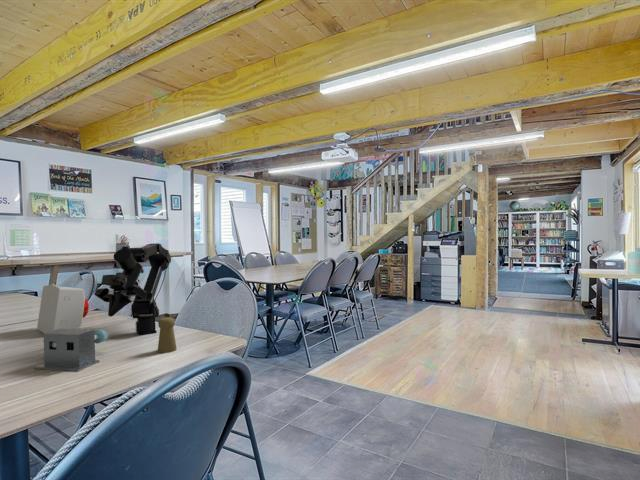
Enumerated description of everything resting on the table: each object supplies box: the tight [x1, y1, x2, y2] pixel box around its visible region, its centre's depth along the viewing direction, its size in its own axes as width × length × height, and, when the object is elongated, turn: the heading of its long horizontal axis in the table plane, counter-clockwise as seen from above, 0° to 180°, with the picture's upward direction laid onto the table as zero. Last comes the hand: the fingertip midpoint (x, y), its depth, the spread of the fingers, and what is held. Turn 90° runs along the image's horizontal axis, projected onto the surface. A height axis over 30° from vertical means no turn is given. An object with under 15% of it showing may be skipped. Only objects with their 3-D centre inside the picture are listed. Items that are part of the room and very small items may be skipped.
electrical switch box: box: [36, 283, 90, 334], centre depth 158 cm, size 15×15×20 cm
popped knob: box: [93, 327, 108, 344], centre depth 119 cm, size 8×4×4 cm, turn 170°
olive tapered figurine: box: [157, 316, 177, 354], centre depth 127 cm, size 6×6×11 cm
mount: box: [33, 328, 100, 372], centre depth 113 cm, size 8×15×10 cm, turn 80°
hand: (109, 315), depth 128 cm, fingers closed
